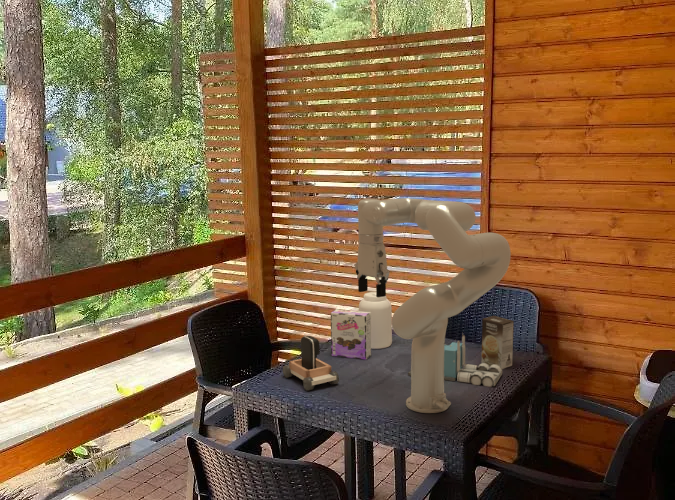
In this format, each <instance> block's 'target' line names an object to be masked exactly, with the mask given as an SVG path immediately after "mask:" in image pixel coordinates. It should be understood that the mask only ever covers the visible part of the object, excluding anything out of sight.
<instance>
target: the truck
mask: <svg viewBox="0 0 675 500" xmlns="http://www.w3.org/2000/svg"><path fill="white" fill-rule="evenodd" d="M502 374H503V369H501V368H500V367H499V366H498V365H494V364H493V365H491V366H490V365H487V364H486V363H479V365H476V364H469V363H466V336H465V334H464V333H462V337H461V341H460V340H457V342H456V341H452V342H451V343H450V344H449V345H447V344H446V343H445V344H444V381H450V382H455V381H456V380H457V382H461V383H468V384H469V383H471V385H473V386H481V384H482V385H483V386H484V387H489V388H492V387H495V386H496V385H497V383H498V381H499V380H500V378H501V377H502ZM407 376H409V377H411V369H410V370H409V371H408V372H407Z"/></svg>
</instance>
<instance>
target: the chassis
mask: <svg viewBox="0 0 675 500" xmlns="http://www.w3.org/2000/svg"><path fill="white" fill-rule="evenodd" d="M282 373H283V374H282V375H283V377H284V378H285V379H286V378H287V379H288V378H292V377H293V376H296V377H297V378H298V379H300V380H302V386H303V389H304V390H305V391H306V392H307V391H311V390H314V388H315V386H316V385H320V384H325V383H327V382H328V383H329V385H332V386H333V385H337V384H339V382H340V376H339V373H338V372H337V371H335V370H334V371H332V365H330V364H328V363H327V362H324V361H323V360H320V359H319V358H317V357H316V368H315V369H310V370H307V369H305V368H304V367H302V359H301V358H300V359H293V360H289V362H288V364H286V365H284V366H283V367H282Z"/></svg>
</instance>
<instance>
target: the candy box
mask: <svg viewBox="0 0 675 500" xmlns="http://www.w3.org/2000/svg"><path fill="white" fill-rule="evenodd" d="M330 348H331V349H330V353H331V356H332V357H341V358H347V359H348V358H349V359H357V360H358V359H359V360H367V359H369V358H370V357H372V349H371V312H360V311H359V310H358V311H357V310H347V309H338V308H335V309H334V310H332V311H331V312H330Z"/></svg>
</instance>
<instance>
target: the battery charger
mask: <svg viewBox="0 0 675 500" xmlns="http://www.w3.org/2000/svg"><path fill="white" fill-rule="evenodd" d="M300 353H301V354H300V355H301V358H300V359H302V367H304V368H305V369H307V370H310V369H315V368H316V358H317V357H318V355H320V354H321V346H320V340H319V339H317V338H315V337H314V336H312V335H307V336H302V337H301V338H300Z"/></svg>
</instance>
